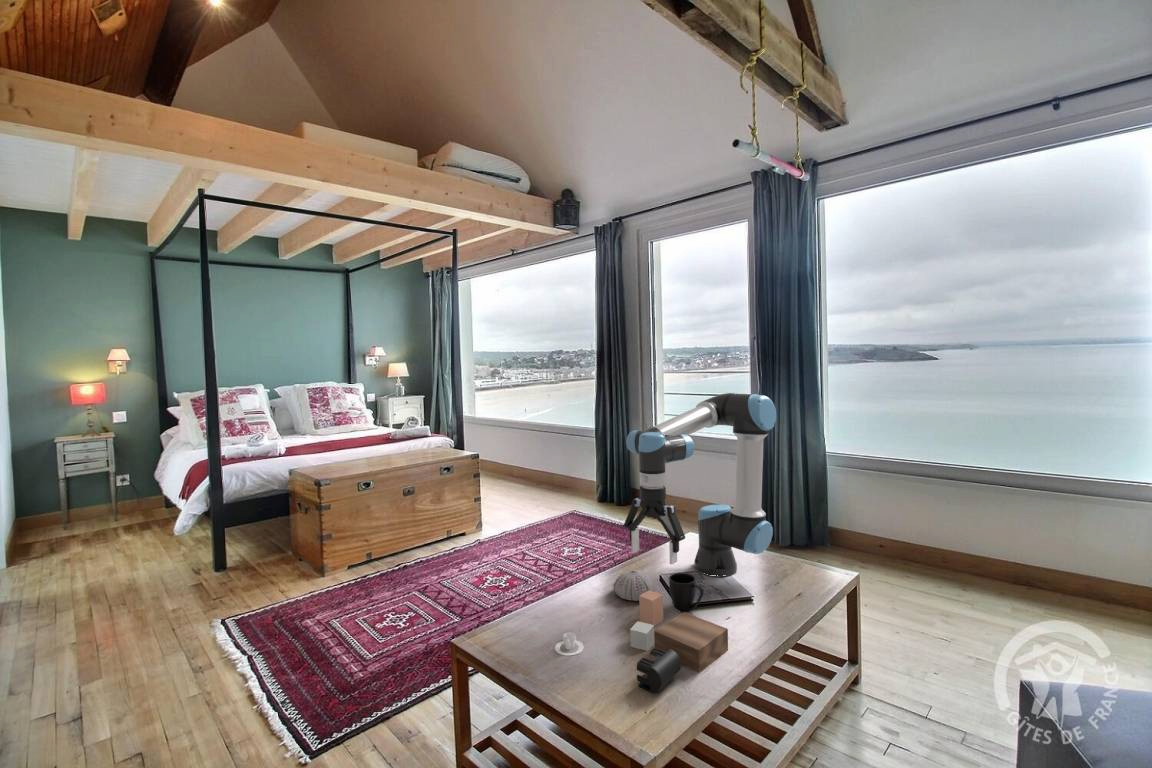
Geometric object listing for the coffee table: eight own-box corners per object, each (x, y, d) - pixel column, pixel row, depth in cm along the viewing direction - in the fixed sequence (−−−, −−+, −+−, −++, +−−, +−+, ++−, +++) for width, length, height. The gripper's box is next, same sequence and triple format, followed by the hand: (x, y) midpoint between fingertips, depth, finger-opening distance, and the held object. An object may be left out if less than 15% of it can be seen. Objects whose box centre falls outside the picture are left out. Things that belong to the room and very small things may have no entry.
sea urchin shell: (629, 582, 194) (628, 560, 193) (662, 593, 185) (661, 570, 184) (605, 596, 184) (604, 573, 183) (639, 608, 175) (638, 583, 174)
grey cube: (637, 638, 157) (637, 621, 157) (654, 642, 155) (653, 625, 154) (630, 646, 153) (630, 629, 153) (647, 651, 150) (646, 633, 150)
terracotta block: (650, 615, 170) (649, 590, 169) (663, 620, 166) (662, 594, 166) (639, 621, 166) (639, 595, 166) (653, 626, 163) (652, 600, 162)
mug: (693, 621, 165) (693, 590, 165) (664, 606, 175) (663, 577, 174) (711, 612, 171) (710, 582, 170) (681, 598, 180) (681, 570, 179)
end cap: (661, 699, 130) (661, 671, 130) (636, 688, 134) (635, 661, 134) (682, 678, 138) (681, 652, 137) (657, 668, 142) (656, 643, 142)
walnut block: (684, 632, 159) (683, 612, 159) (728, 650, 149) (727, 628, 149) (654, 652, 150) (654, 630, 149) (699, 673, 140) (699, 650, 139)
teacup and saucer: (565, 637, 159) (564, 624, 159) (589, 643, 156) (589, 629, 155) (549, 653, 152) (549, 638, 151) (575, 660, 148) (574, 645, 148)
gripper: (611, 482, 167) (613, 550, 169) (681, 495, 150) (683, 572, 151) (627, 477, 173) (628, 543, 174) (696, 490, 155) (697, 563, 157)
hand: (654, 557), depth 163 cm, fingers open, 13 cm apart
